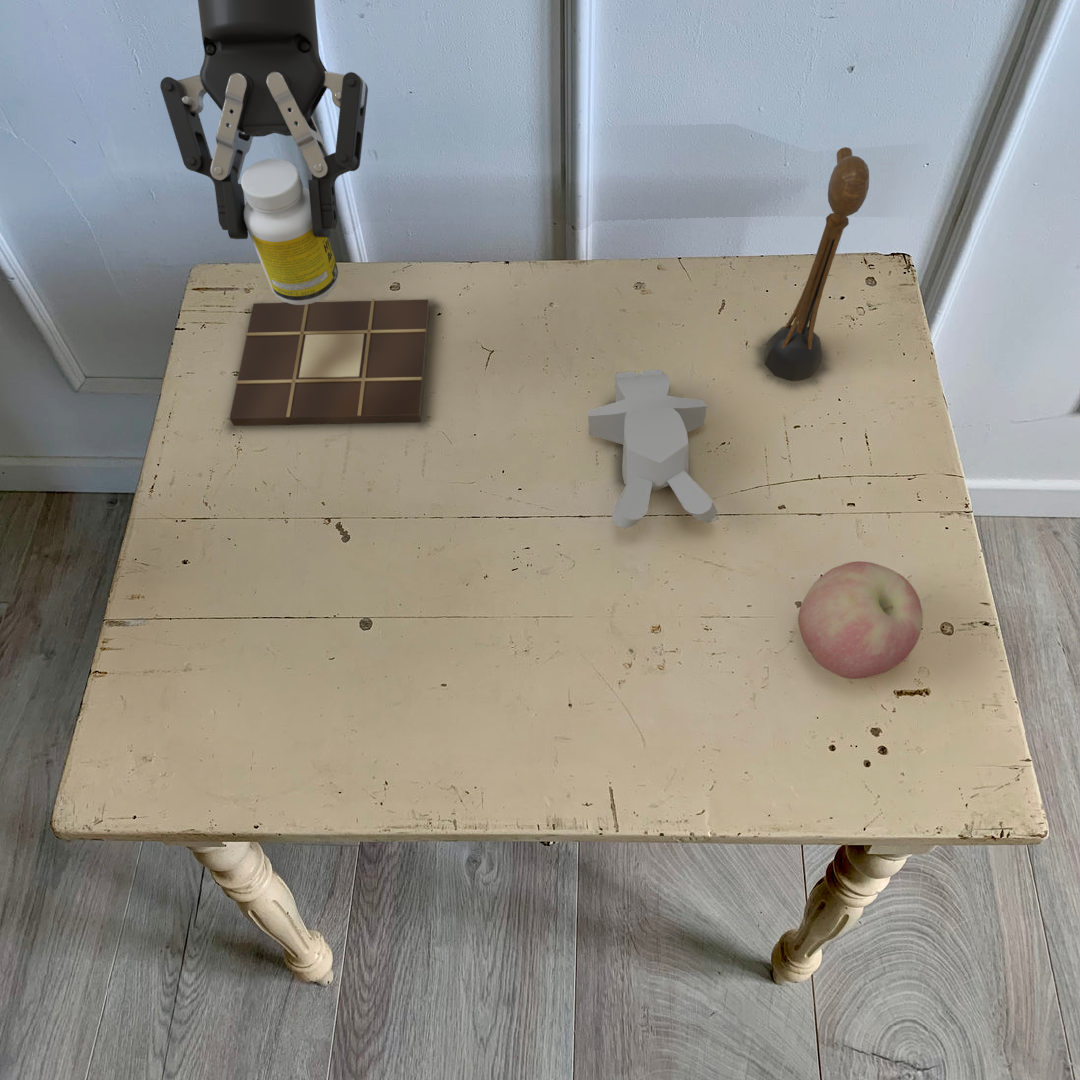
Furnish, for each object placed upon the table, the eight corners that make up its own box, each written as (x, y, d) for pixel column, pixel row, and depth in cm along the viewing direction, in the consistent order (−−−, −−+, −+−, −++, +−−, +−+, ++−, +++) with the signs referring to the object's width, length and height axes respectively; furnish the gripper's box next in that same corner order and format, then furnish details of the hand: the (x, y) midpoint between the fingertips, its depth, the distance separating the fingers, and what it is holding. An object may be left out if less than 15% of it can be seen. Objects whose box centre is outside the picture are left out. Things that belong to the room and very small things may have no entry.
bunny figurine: (697, 351, 72) (734, 494, 64) (691, 396, 77) (725, 536, 68) (582, 361, 72) (603, 505, 64) (582, 405, 76) (602, 546, 68)
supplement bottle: (351, 290, 69) (320, 186, 60) (286, 317, 68) (245, 215, 59) (324, 247, 71) (290, 141, 63) (261, 273, 70) (218, 168, 62)
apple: (871, 715, 61) (909, 675, 54) (770, 660, 64) (795, 615, 57) (913, 626, 65) (955, 577, 58) (816, 576, 67) (845, 523, 60)
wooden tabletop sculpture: (763, 327, 79) (819, 126, 61) (816, 330, 78) (888, 129, 61) (764, 379, 76) (823, 184, 58) (819, 382, 76) (895, 188, 58)
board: (233, 425, 75) (228, 417, 74) (256, 310, 81) (252, 301, 80) (420, 422, 75) (418, 413, 74) (429, 306, 81) (427, 297, 80)
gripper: (119, -49, 55) (158, 238, 60) (348, -57, 55) (369, 233, 59) (170, -12, 62) (201, 242, 67) (373, -18, 62) (390, 237, 67)
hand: (280, 236), depth 63 cm, fingers closed on supplement bottle, 5 cm apart
